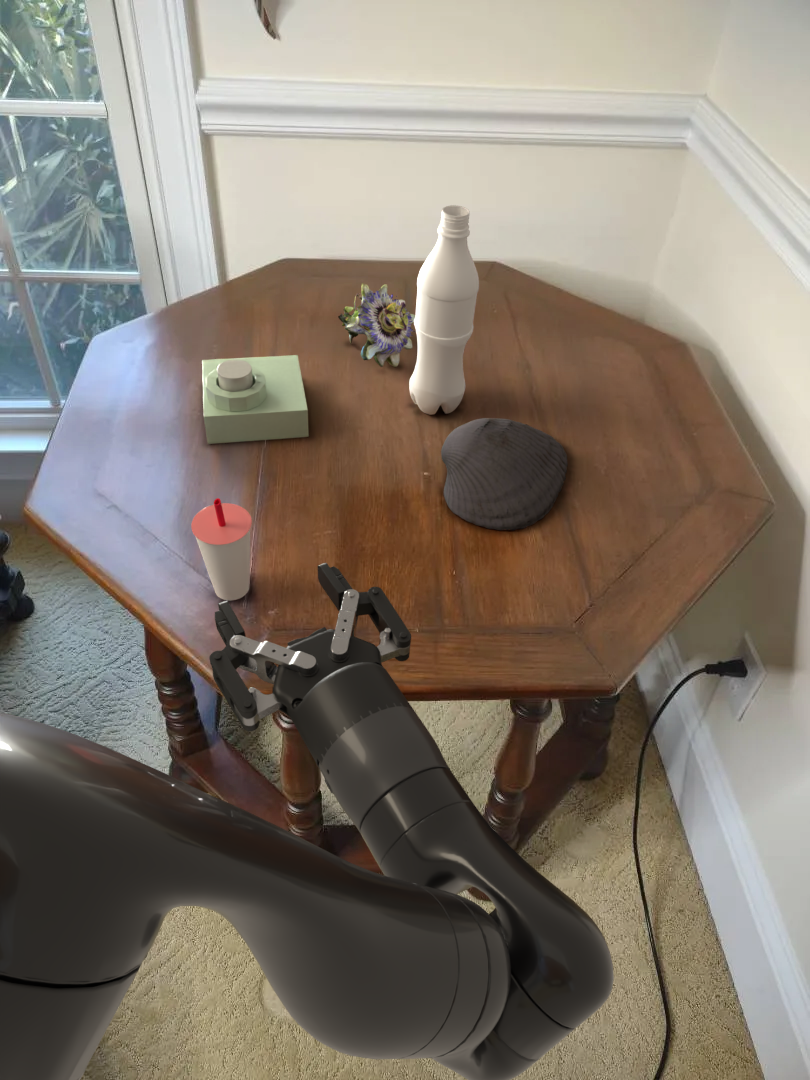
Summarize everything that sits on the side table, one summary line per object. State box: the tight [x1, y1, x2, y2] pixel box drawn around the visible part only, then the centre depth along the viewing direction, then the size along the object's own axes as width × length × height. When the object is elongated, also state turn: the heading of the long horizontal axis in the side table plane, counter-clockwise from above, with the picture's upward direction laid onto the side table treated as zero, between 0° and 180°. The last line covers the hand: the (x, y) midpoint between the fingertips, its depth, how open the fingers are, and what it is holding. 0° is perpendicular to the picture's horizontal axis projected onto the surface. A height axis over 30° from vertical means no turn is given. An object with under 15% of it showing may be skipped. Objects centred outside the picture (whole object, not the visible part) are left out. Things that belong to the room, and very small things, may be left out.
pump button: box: [217, 360, 253, 392], centre depth 90 cm, size 4×4×2 cm
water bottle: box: [408, 204, 480, 415], centre depth 91 cm, size 7×7×25 cm
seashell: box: [440, 417, 568, 531], centre depth 88 cm, size 14×19×8 cm
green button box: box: [201, 354, 310, 445], centre depth 94 cm, size 12×12×6 cm
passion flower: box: [338, 283, 416, 368], centre depth 105 cm, size 11×11×12 cm
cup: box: [190, 497, 253, 601], centre depth 72 cm, size 5×5×12 cm
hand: (273, 589), depth 62 cm, fingers open, 8 cm apart
